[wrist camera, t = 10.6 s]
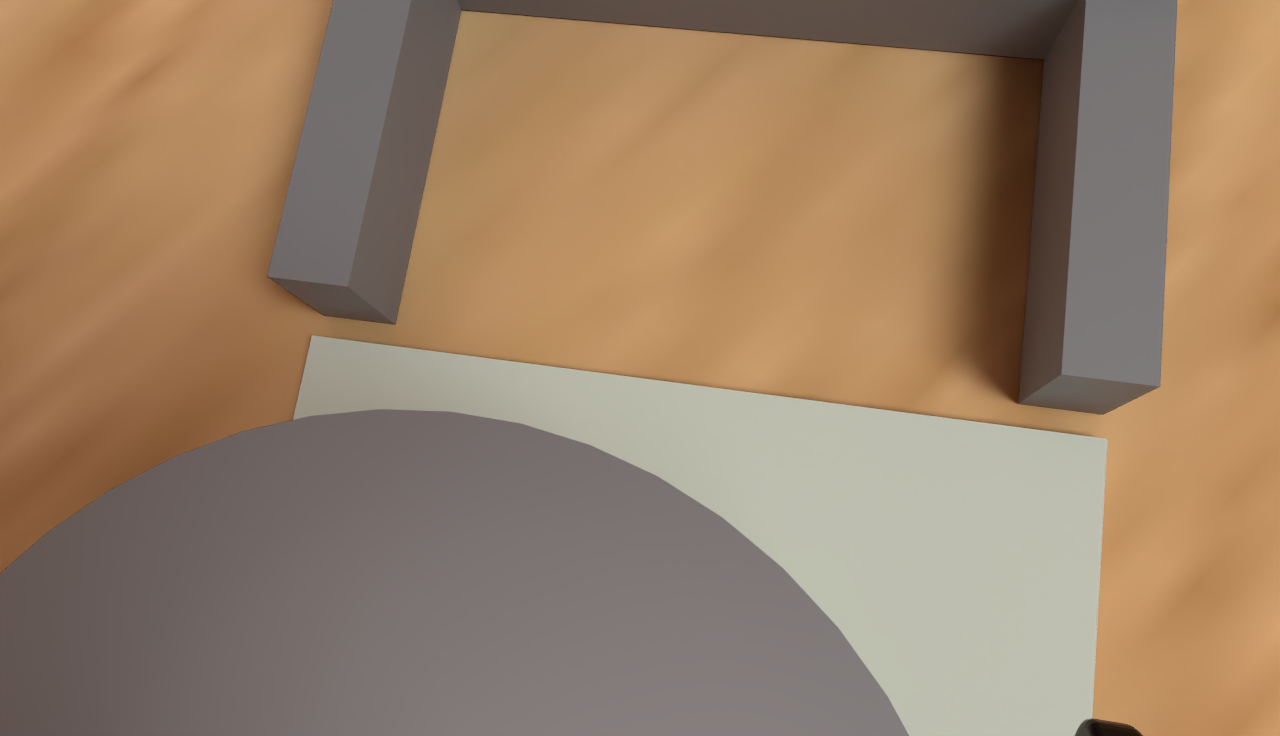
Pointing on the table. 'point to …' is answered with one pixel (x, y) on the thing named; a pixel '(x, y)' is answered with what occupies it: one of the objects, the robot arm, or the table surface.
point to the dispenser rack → (805, 9)
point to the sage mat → (835, 516)
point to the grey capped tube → (415, 598)
